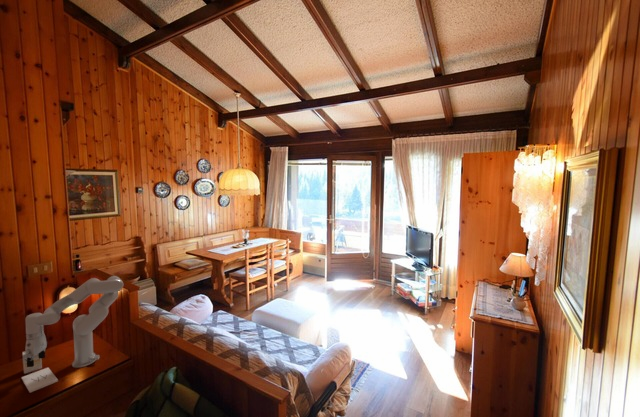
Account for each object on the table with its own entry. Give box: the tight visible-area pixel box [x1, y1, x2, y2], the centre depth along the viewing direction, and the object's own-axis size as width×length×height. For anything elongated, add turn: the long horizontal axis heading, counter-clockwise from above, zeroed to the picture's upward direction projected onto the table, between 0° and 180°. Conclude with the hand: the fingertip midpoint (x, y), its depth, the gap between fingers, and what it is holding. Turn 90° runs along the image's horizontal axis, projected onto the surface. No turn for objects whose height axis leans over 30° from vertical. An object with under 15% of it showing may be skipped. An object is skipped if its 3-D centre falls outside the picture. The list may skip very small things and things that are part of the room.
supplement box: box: [22, 351, 43, 374], centre depth 182 cm, size 8×5×13 cm, turn 137°
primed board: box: [20, 367, 59, 393], centre depth 173 cm, size 20×12×1 cm, turn 55°
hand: (36, 362), depth 175 cm, fingers open, 8 cm apart
